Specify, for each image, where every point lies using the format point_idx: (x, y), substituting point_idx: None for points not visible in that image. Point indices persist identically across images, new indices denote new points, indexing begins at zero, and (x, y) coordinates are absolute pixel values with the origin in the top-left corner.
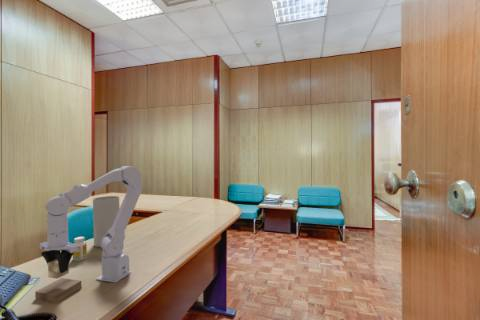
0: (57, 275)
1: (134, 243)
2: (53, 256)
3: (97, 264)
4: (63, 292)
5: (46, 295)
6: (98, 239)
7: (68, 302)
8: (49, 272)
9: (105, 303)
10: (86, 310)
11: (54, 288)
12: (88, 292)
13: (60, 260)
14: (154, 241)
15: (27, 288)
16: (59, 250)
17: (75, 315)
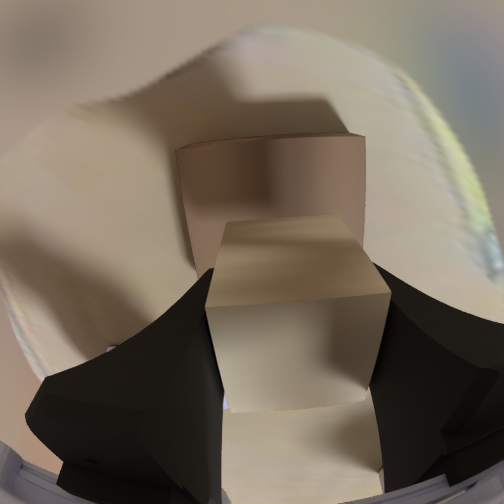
0: (225, 235)
1: (325, 483)
2: (398, 390)
3: (338, 412)
4: (184, 195)
5: (262, 138)
6: None
7: (133, 174)
8: (335, 233)
9: (12, 232)
10: (21, 174)
11: (276, 199)
12: (133, 266)
13: (122, 349)
14: (272, 495)
15: (476, 201)
16: (388, 470)
17: (25, 136)
